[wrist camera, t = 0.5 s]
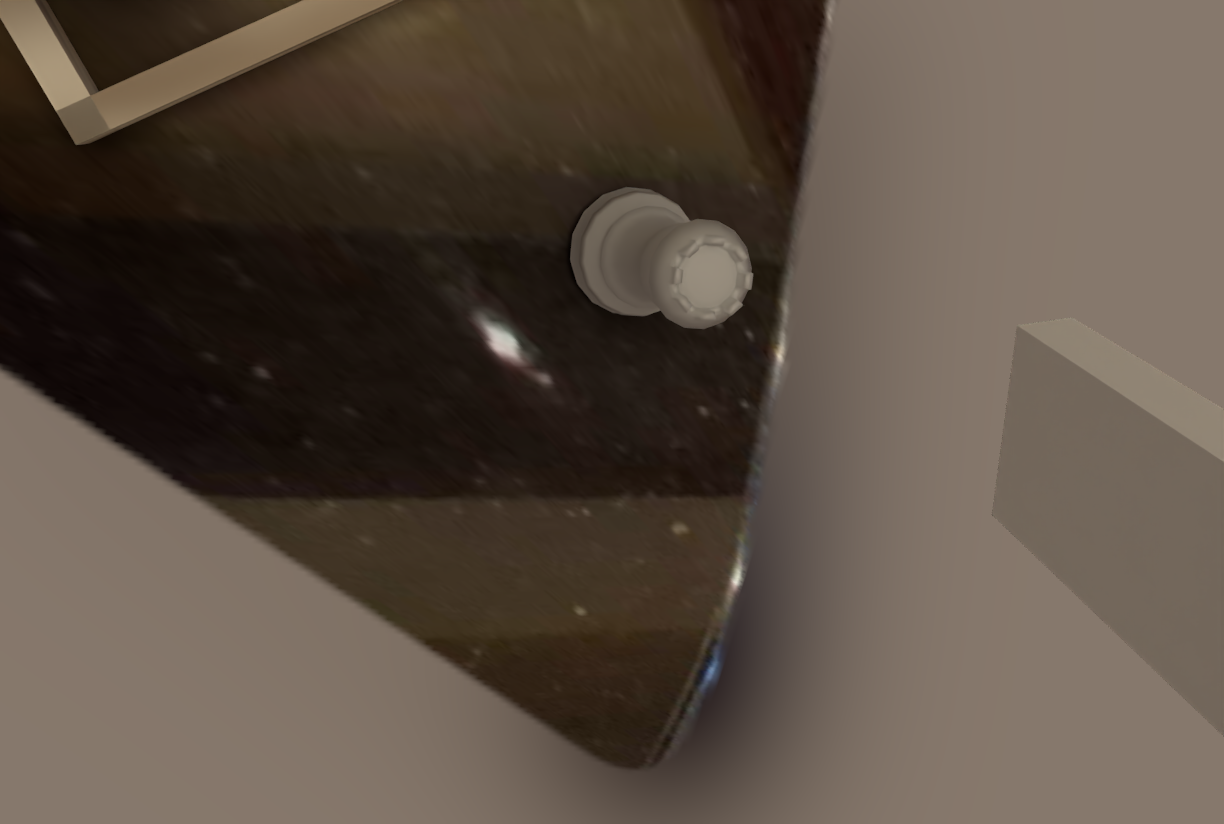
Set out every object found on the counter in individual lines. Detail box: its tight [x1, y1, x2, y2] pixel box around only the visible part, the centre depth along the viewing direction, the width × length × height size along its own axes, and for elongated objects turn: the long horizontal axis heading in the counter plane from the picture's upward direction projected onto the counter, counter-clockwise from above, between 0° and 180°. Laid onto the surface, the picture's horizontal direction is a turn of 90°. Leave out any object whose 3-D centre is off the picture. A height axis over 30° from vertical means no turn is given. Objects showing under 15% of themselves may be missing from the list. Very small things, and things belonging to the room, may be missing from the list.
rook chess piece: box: [570, 187, 753, 329], centre depth 37 cm, size 4×4×8 cm
